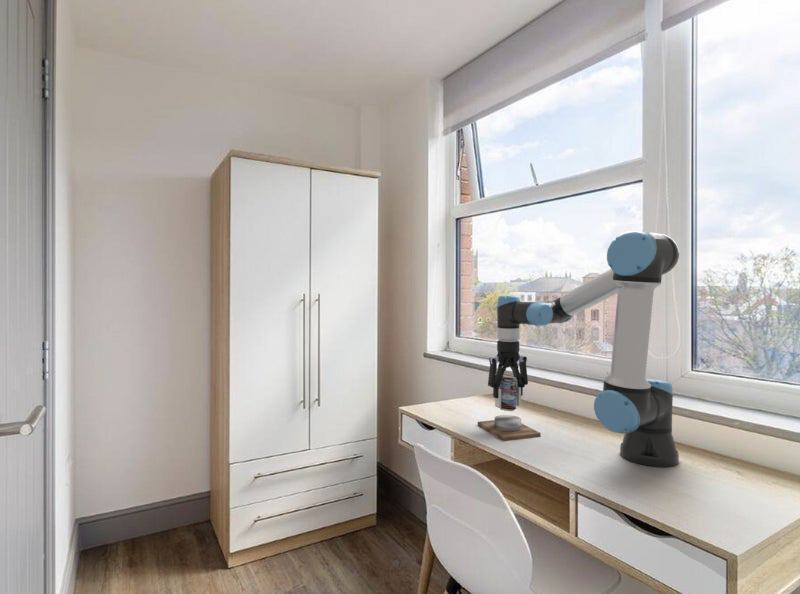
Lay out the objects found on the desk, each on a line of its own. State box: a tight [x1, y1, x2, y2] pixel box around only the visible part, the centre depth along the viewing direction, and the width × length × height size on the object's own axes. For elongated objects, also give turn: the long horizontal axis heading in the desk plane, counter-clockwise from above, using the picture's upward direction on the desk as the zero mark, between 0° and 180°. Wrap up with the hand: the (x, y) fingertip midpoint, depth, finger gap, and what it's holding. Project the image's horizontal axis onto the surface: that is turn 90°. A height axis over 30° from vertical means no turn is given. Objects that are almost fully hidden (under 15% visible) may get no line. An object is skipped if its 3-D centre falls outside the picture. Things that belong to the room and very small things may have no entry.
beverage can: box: [499, 375, 518, 412], centre depth 163 cm, size 6×7×12 cm
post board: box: [477, 414, 542, 442], centre depth 163 cm, size 18×14×4 cm
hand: (508, 406), depth 163 cm, fingers closed on beverage can, 7 cm apart
